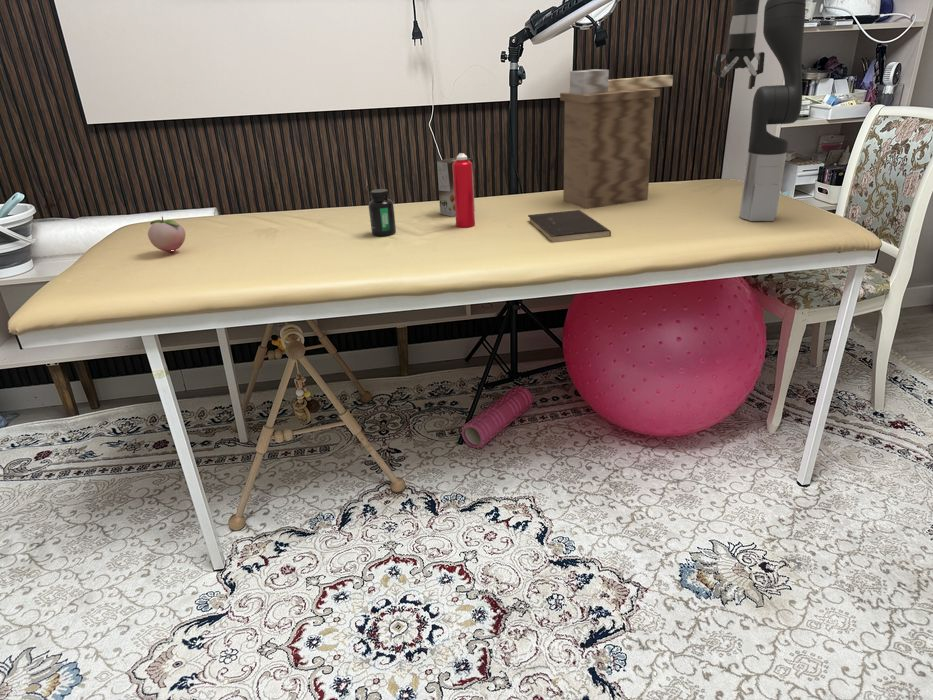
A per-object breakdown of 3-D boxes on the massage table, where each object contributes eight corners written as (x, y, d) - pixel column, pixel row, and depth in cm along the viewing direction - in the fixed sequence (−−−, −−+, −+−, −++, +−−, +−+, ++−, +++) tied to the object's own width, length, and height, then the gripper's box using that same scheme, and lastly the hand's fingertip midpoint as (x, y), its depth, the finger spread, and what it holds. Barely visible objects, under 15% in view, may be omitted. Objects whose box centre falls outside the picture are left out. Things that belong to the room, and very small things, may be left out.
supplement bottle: (392, 237, 174) (387, 193, 169) (368, 236, 175) (363, 193, 170) (399, 230, 180) (394, 187, 175) (376, 230, 181) (371, 188, 176)
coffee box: (452, 217, 190) (449, 162, 183) (439, 214, 195) (435, 160, 188) (475, 211, 195) (473, 158, 188) (462, 208, 200) (459, 156, 193)
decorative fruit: (146, 258, 168) (135, 221, 164) (163, 249, 176) (154, 213, 171) (178, 257, 167) (168, 220, 162) (194, 248, 174) (185, 212, 170)
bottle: (474, 222, 183) (470, 151, 175) (475, 227, 179) (472, 154, 170) (455, 223, 183) (451, 152, 175) (456, 228, 178) (452, 155, 170)
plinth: (623, 190, 210) (628, 87, 196) (652, 199, 196) (660, 89, 182) (559, 199, 203) (560, 93, 189) (584, 210, 189) (587, 95, 175)
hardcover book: (551, 244, 161) (551, 235, 160) (528, 222, 182) (528, 214, 181) (610, 238, 164) (611, 229, 162) (581, 217, 184) (581, 209, 183)
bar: (661, 85, 195) (662, 64, 193) (677, 86, 188) (679, 64, 186) (569, 93, 186) (570, 71, 183) (583, 94, 179) (584, 71, 176)
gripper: (720, 33, 189) (714, 91, 197) (771, 30, 187) (762, 89, 194) (716, 33, 196) (710, 89, 203) (764, 30, 194) (756, 87, 201)
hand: (735, 89), depth 199 cm, fingers open, 8 cm apart
